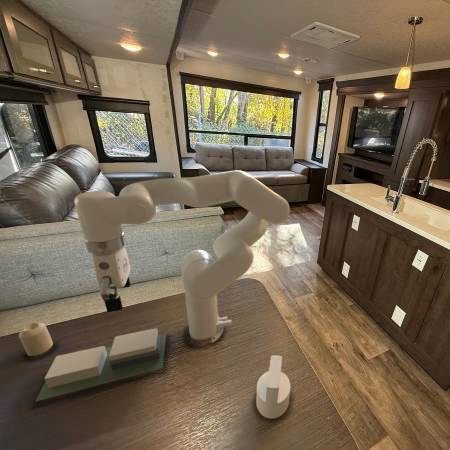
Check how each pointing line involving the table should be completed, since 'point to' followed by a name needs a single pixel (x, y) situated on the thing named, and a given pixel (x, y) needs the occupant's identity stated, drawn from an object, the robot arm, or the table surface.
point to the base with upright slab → (273, 390)
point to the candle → (35, 339)
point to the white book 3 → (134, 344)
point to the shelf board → (105, 375)
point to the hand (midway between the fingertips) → (119, 298)
